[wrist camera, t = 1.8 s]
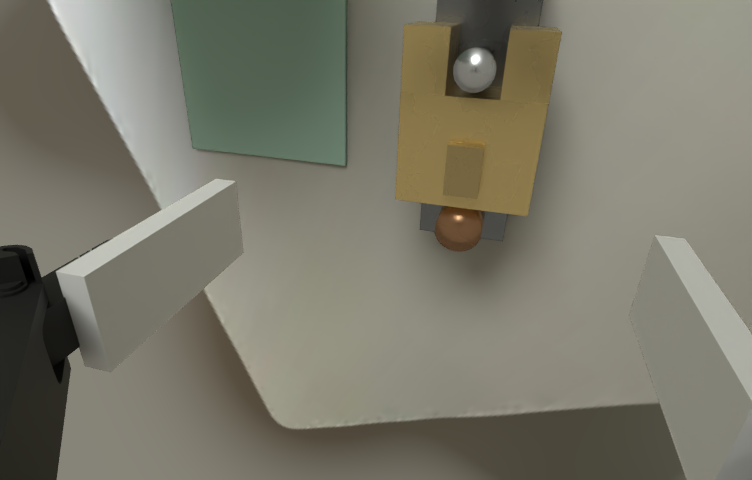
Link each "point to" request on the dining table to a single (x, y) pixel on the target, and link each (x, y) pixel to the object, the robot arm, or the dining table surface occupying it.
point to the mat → (265, 76)
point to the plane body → (474, 74)
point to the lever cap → (472, 121)
